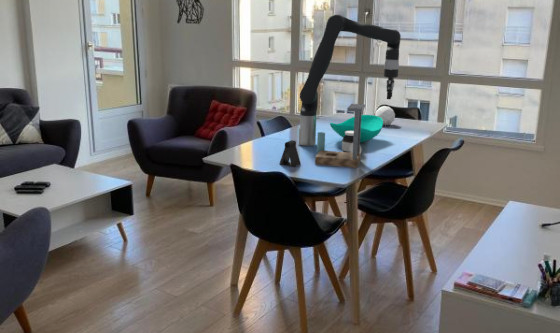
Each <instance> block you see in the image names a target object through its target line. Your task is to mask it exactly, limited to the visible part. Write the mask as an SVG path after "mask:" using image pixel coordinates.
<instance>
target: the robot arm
mask: <svg viewBox="0 0 560 333" xmlns="http://www.w3.org/2000/svg"><path fill="white" fill-rule="evenodd" d="M341 32H346V33H347V32H348V33H352V34H355V35H359V36H361V37H364V38H368V39H372V40H378V41H382V42H384V43H386V51H385V58H384V60H385V61H384V69H383V76H384V77H385V78H387V80H386V100H391V99H392V98H393V90H394V87H395V78H398V77H399V67H400V63H399V59H400V46H401V45H400V44H401V33H400V31H399V30H397V29H391V28H390V29H389V28H384V27H383V26H380V25H375V24H370V23H367V22H360V21H355V20H352V19H349V18H348V17H345V16H344V15H341V14H339V13H336V14H332V15H330V16H329V17H328V19H327V21H326V25H325V30H324V32H323V35H322V39H321V40H320V42H319V45H318V47H317V49H316V52H315V53H314V56H313V59H312V62H311V66H310V68H309V72H308V75H307V77H306V80H305V83H304V84H303V87H302V88H301V90H300V93H299V99H300V101H301V107H300V110H299V111H300V113H299V116H300V117H299V120H300V121H299V129H298V145H299V146H303V147H304V146H305V147H312V146H316V144H317V143H316V142H317V138H316V136H317V113H318V112H317V111H318V103H319V102H318V101H319V93H318V88H319V85H320V83H321V81H322V78H324V76H325V75H326V72H327V71H328V68H329V67H330V66H329V65H330V64H331V61H332V58H333V53H334V49H335V44H336V42H337V39H338V37H339V35H340V33H341Z"/></svg>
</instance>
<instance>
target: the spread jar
mask: <svg viewBox="0 0 560 333" xmlns="http://www.w3.org/2000/svg"><path fill="white" fill-rule="evenodd" d="M353 137H354V131H346V132H345V136H344V137H342V141H341V150H342V151H341V152H349V153H353ZM361 146H362V145H360V153H362V147H361Z"/></svg>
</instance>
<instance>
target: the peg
mask: <svg viewBox="0 0 560 333" xmlns="http://www.w3.org/2000/svg"><path fill="white" fill-rule="evenodd" d="M316 142H317V143H316V144H317V145H316V146H317V147H316V149H317V150H316V155H317V154H318V153H319V152H320V150H323V151H326V149H325V148H326V146H325V144H326V132H324V131H322V132H321V131H318V132H317V138H316Z"/></svg>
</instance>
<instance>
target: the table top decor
mask: <svg viewBox="0 0 560 333" xmlns="http://www.w3.org/2000/svg"><path fill="white" fill-rule="evenodd" d="M354 118H355V116H353V117H350V118H348V119H346V120H345V121H343V122H340V123H333V122H329V125H330V127H331V129H332V130H333V131H334V132H335V133H336V134H337V135H338V136H340V137H341V138H343V137H344V136H345V132H346V131H354ZM383 126H384V125H383V120H382V118H381V117H379V116H375V114H362V116H361V135H360V143H364V142H367V141H370V140H372V139H374V138H375V137H376V136H378V135H379V134H380V133H381V131H382V128H383Z"/></svg>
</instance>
